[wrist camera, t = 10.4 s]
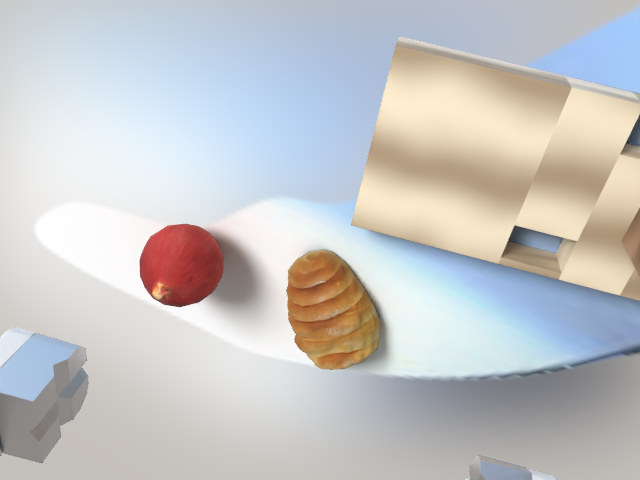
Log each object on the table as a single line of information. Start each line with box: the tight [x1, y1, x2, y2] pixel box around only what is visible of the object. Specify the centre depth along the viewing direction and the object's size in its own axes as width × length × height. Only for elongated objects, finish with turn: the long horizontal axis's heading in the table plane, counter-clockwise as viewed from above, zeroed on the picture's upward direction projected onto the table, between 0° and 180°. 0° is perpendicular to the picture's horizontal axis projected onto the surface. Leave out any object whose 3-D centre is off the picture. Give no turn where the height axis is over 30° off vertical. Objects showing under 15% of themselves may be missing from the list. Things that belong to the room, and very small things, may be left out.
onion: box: [140, 224, 224, 307], centre depth 43 cm, size 6×6×8 cm
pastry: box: [286, 250, 380, 370], centre depth 45 cm, size 9×7×4 cm
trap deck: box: [351, 37, 640, 301], centre depth 36 cm, size 12×22×6 cm, turn 79°
